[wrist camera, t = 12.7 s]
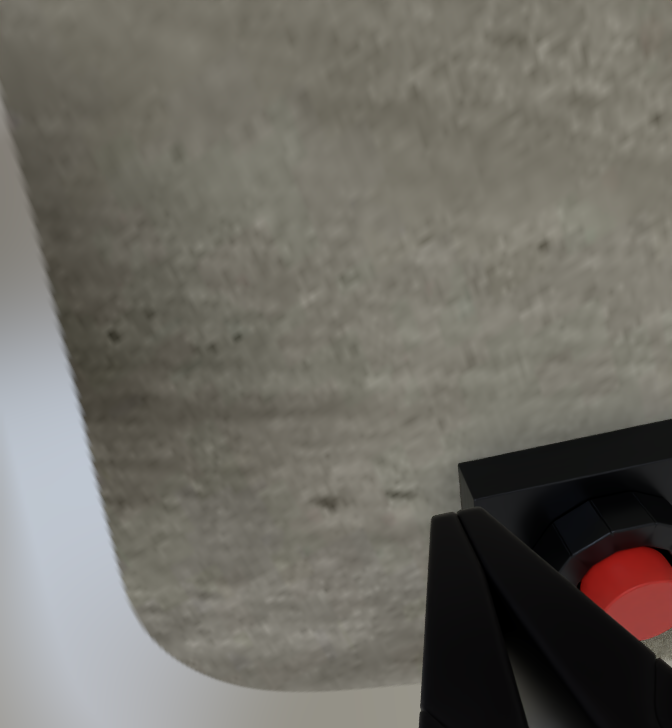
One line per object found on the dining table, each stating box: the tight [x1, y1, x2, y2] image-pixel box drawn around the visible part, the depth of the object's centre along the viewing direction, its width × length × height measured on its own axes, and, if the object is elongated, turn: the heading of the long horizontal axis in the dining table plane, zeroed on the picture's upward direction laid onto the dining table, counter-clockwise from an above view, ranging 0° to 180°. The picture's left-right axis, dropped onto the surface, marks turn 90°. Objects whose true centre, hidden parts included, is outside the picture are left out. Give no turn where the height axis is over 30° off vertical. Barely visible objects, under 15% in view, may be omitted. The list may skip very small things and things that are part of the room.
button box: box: [458, 419, 672, 590], centre depth 25 cm, size 11×9×4 cm
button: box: [580, 546, 672, 641], centre depth 23 cm, size 4×4×2 cm
